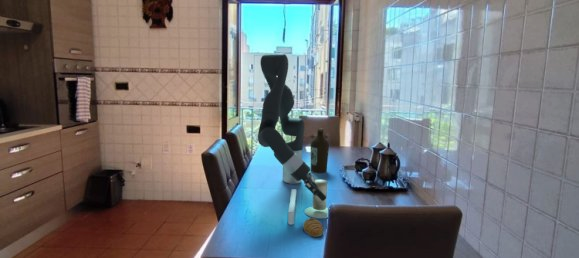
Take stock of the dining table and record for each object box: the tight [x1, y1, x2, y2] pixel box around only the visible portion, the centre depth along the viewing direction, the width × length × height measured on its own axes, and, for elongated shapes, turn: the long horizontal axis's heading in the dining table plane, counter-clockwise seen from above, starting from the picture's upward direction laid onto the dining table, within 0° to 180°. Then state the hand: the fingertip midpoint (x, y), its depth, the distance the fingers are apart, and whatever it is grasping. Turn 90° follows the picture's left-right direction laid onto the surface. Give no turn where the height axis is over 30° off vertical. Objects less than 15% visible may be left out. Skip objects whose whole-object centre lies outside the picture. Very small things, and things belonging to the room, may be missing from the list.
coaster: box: [304, 206, 329, 220], centre depth 148 cm, size 12×12×1 cm
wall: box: [287, 188, 297, 225], centre depth 148 cm, size 26×2×5 cm, turn 177°
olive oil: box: [310, 127, 330, 174], centre depth 208 cm, size 11×11×25 cm
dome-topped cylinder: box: [312, 179, 328, 210], centre depth 146 cm, size 6×6×11 cm
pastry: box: [302, 217, 324, 238], centre depth 130 cm, size 9×7×4 cm
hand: (324, 196), depth 146 cm, fingers closed on dome-topped cylinder, 5 cm apart
